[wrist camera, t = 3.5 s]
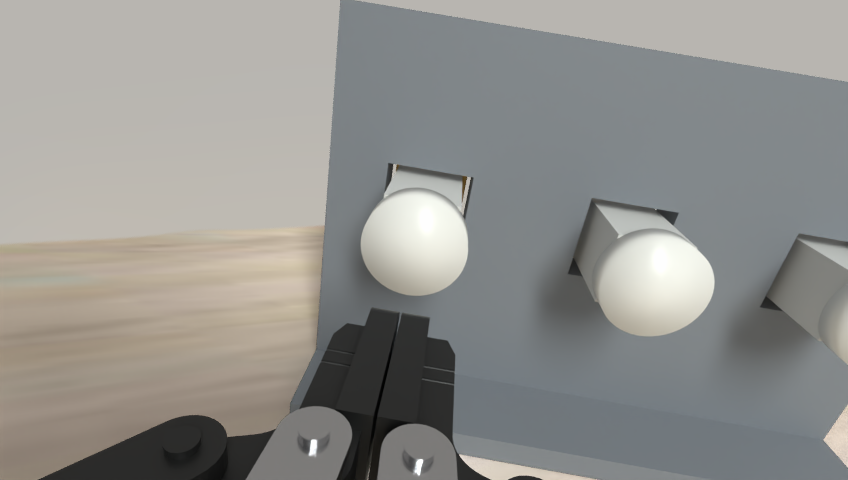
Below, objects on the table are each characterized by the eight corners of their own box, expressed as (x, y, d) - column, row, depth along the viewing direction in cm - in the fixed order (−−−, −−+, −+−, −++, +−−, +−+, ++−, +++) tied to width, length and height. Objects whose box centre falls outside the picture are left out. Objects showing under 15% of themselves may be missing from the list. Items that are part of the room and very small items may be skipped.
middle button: (586, 326, 18) (619, 232, 16) (546, 230, 27) (565, 163, 25) (689, 344, 18) (733, 251, 16) (615, 242, 27) (638, 176, 25)
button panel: (289, 423, 21) (307, -13, 14) (342, 308, 31) (370, 7, 23) (871, 529, 21) (1201, 135, 14) (748, 380, 30) (907, 96, 23)
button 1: (820, 367, 18) (877, 276, 16) (702, 257, 27) (731, 192, 25) (924, 386, 18) (993, 296, 16) (771, 269, 26) (805, 204, 25)
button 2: (355, 286, 18) (366, 188, 16) (392, 204, 27) (401, 136, 25) (457, 304, 18) (477, 207, 16) (460, 216, 27) (473, 148, 25)
